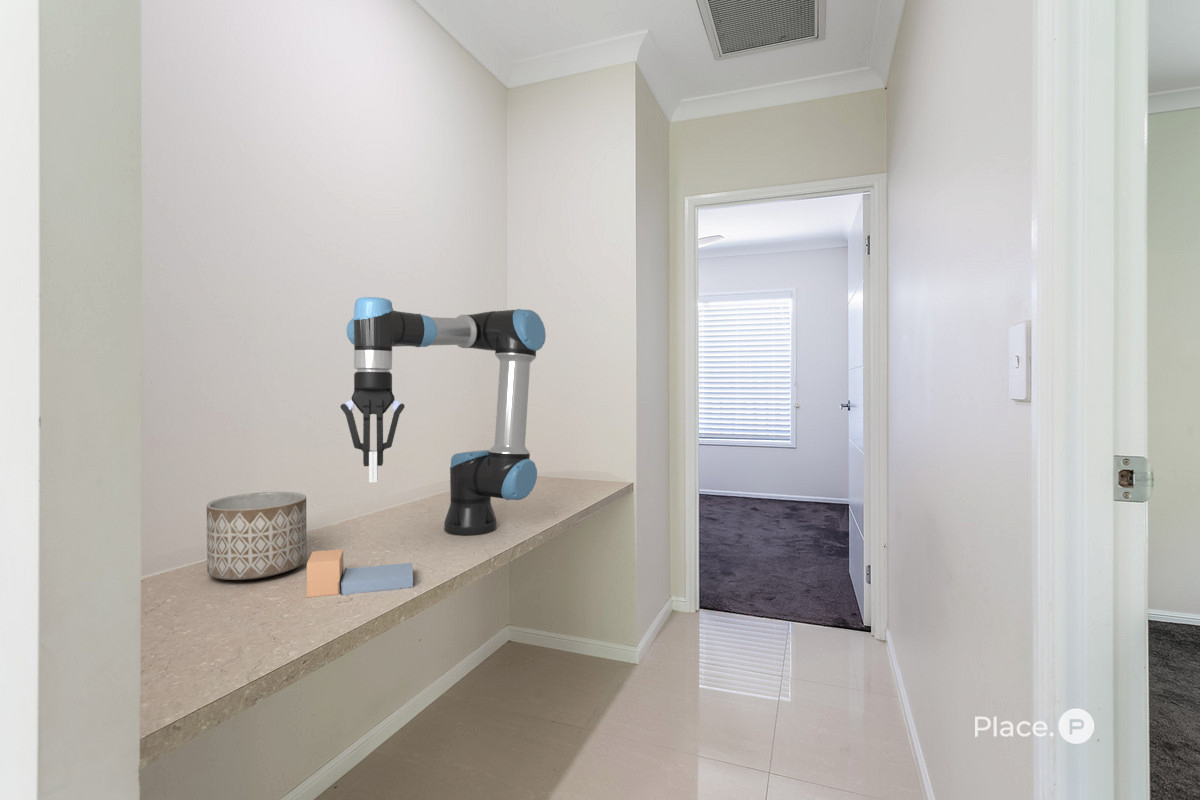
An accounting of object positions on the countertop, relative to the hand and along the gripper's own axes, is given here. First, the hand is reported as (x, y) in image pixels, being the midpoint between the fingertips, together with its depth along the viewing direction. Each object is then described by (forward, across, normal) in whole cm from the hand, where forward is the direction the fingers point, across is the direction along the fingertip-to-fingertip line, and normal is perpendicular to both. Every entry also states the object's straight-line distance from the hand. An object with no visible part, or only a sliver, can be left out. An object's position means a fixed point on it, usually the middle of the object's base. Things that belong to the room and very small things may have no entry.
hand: (373, 481), depth 121 cm
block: (+22, +9, 0) cm, 24 cm away
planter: (+23, +25, -16) cm, 37 cm away
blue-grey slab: (+22, -1, 0) cm, 22 cm away
